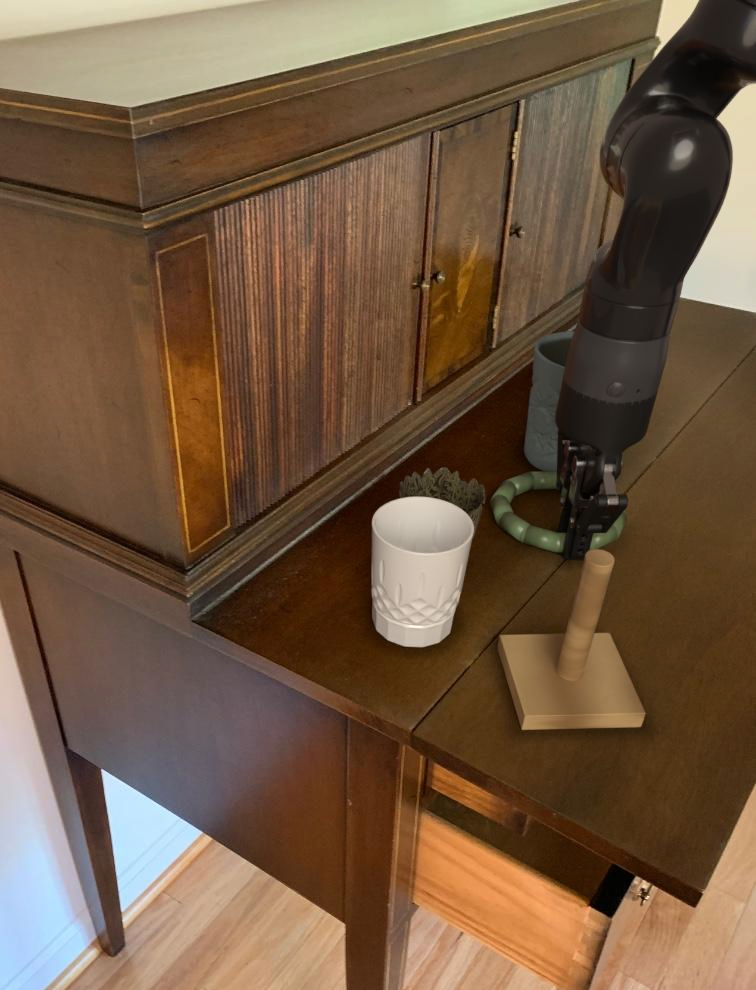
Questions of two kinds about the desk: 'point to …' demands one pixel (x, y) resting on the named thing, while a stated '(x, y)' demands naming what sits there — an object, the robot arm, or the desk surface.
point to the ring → (536, 534)
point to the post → (572, 666)
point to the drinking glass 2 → (546, 400)
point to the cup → (447, 491)
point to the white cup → (418, 568)
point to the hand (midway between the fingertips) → (570, 549)
